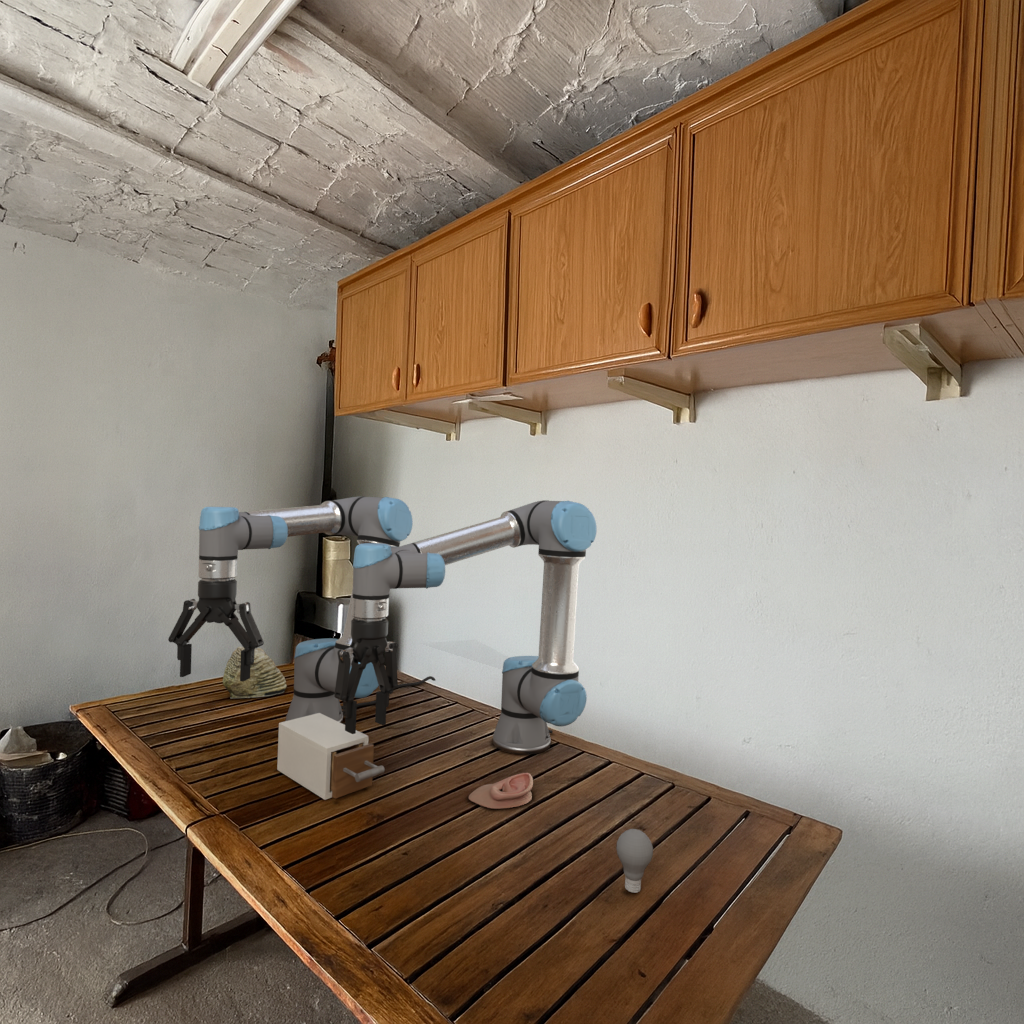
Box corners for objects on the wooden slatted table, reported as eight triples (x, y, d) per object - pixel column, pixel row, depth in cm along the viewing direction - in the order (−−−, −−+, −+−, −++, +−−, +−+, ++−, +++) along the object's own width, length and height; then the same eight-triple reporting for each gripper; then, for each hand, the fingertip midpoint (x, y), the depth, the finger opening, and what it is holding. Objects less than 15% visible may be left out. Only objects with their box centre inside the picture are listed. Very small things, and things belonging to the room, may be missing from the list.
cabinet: (366, 784, 140) (368, 735, 140) (324, 800, 132) (326, 748, 132) (317, 757, 154) (319, 712, 153) (277, 769, 146) (278, 722, 145)
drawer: (389, 794, 134) (391, 753, 134) (351, 809, 127) (353, 765, 127) (325, 759, 150) (326, 722, 150) (288, 770, 143) (290, 731, 143)
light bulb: (610, 879, 108) (613, 822, 108) (644, 879, 109) (647, 822, 109) (619, 902, 102) (622, 840, 102) (655, 901, 103) (658, 840, 103)
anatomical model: (464, 786, 132) (478, 764, 144) (464, 804, 133) (478, 781, 144) (527, 794, 130) (536, 771, 141) (526, 813, 130) (535, 789, 141)
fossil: (218, 695, 195) (220, 647, 195) (278, 685, 208) (279, 640, 207) (228, 703, 189) (230, 653, 188) (289, 692, 201) (290, 645, 201)
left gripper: (151, 578, 133) (149, 678, 133) (264, 584, 130) (261, 686, 131) (174, 573, 140) (172, 668, 141) (281, 579, 138) (278, 676, 138)
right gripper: (339, 626, 122) (334, 745, 122) (418, 615, 137) (414, 721, 137) (317, 620, 127) (313, 734, 127) (396, 610, 142) (392, 712, 142)
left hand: (215, 677), depth 136 cm, fingers open, 13 cm apart
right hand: (365, 727), depth 132 cm, fingers open, 7 cm apart
